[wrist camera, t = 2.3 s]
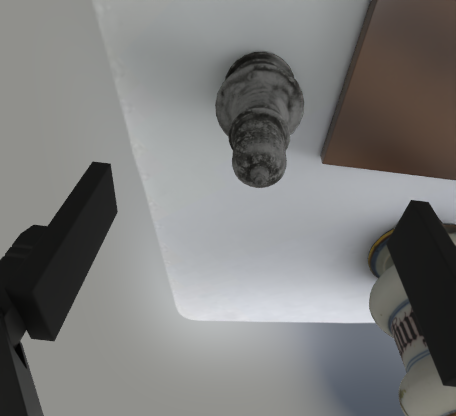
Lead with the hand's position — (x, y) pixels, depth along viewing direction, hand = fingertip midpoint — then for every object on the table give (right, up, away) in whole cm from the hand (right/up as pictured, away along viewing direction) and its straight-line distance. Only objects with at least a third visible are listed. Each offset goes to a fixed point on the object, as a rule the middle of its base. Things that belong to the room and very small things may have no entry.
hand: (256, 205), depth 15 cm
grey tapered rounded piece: (+1, +9, +10) cm, 14 cm away
